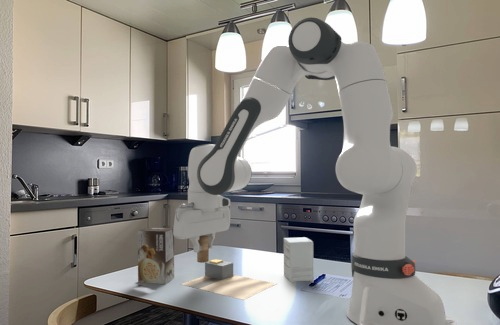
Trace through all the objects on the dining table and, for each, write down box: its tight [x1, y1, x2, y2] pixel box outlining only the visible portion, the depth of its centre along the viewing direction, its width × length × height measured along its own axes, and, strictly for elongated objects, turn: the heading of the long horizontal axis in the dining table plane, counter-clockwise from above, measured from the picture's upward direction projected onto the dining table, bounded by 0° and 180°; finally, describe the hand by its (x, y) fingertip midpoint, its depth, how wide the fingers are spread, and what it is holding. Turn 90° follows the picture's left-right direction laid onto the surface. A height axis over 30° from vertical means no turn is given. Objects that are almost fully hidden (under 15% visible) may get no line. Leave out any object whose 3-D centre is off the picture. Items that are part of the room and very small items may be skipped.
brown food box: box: [137, 227, 175, 287], centre depth 110 cm, size 9×6×16 cm
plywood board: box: [180, 274, 277, 301], centre depth 105 cm, size 22×16×1 cm
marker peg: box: [196, 235, 210, 264], centre depth 106 cm, size 3×3×8 cm
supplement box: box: [283, 236, 315, 283], centre depth 112 cm, size 7×7×13 cm
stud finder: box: [204, 258, 234, 280], centre depth 113 cm, size 7×5×4 cm
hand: (203, 250), depth 106 cm, fingers closed on marker peg, 3 cm apart
